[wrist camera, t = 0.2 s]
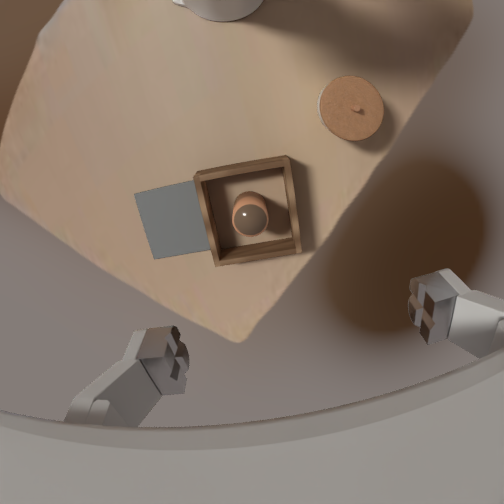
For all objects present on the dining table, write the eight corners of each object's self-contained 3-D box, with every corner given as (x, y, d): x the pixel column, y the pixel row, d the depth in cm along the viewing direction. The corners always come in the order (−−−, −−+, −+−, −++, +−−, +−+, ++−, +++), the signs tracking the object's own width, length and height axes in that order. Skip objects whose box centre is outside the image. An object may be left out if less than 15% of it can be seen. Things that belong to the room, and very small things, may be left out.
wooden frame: (197, 171, 54) (193, 177, 50) (285, 155, 53) (289, 159, 49) (217, 254, 62) (215, 266, 57) (297, 241, 61) (302, 252, 56)
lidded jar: (346, 69, 46) (365, 63, 38) (377, 118, 50) (399, 121, 42) (298, 98, 49) (309, 96, 40) (331, 147, 53) (347, 155, 44)
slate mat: (134, 193, 56) (134, 194, 55) (194, 180, 55) (193, 180, 55) (154, 258, 62) (154, 259, 61) (210, 248, 61) (210, 249, 61)
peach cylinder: (230, 194, 56) (228, 206, 50) (263, 188, 56) (265, 199, 50) (236, 224, 59) (235, 239, 53) (268, 219, 59) (271, 233, 52)
